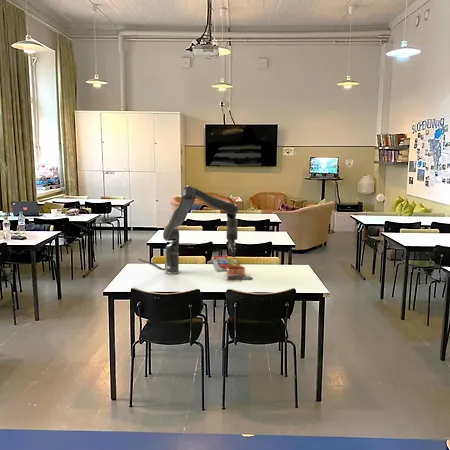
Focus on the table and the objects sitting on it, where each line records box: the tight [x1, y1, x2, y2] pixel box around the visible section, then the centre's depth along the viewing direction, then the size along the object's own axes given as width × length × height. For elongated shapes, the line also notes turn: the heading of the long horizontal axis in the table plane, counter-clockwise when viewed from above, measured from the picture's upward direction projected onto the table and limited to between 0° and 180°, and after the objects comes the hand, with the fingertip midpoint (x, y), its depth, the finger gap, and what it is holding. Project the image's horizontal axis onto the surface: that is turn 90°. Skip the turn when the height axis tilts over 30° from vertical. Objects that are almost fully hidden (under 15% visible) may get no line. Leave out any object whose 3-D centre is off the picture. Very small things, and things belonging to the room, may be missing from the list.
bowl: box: [226, 265, 246, 277], centre depth 325 cm, size 13×13×5 cm
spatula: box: [226, 274, 253, 281], centre depth 313 cm, size 17×5×3 cm, turn 103°
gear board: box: [210, 255, 241, 272], centre depth 358 cm, size 45×2×19 cm
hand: (231, 255), depth 311 cm, fingers open, 8 cm apart
